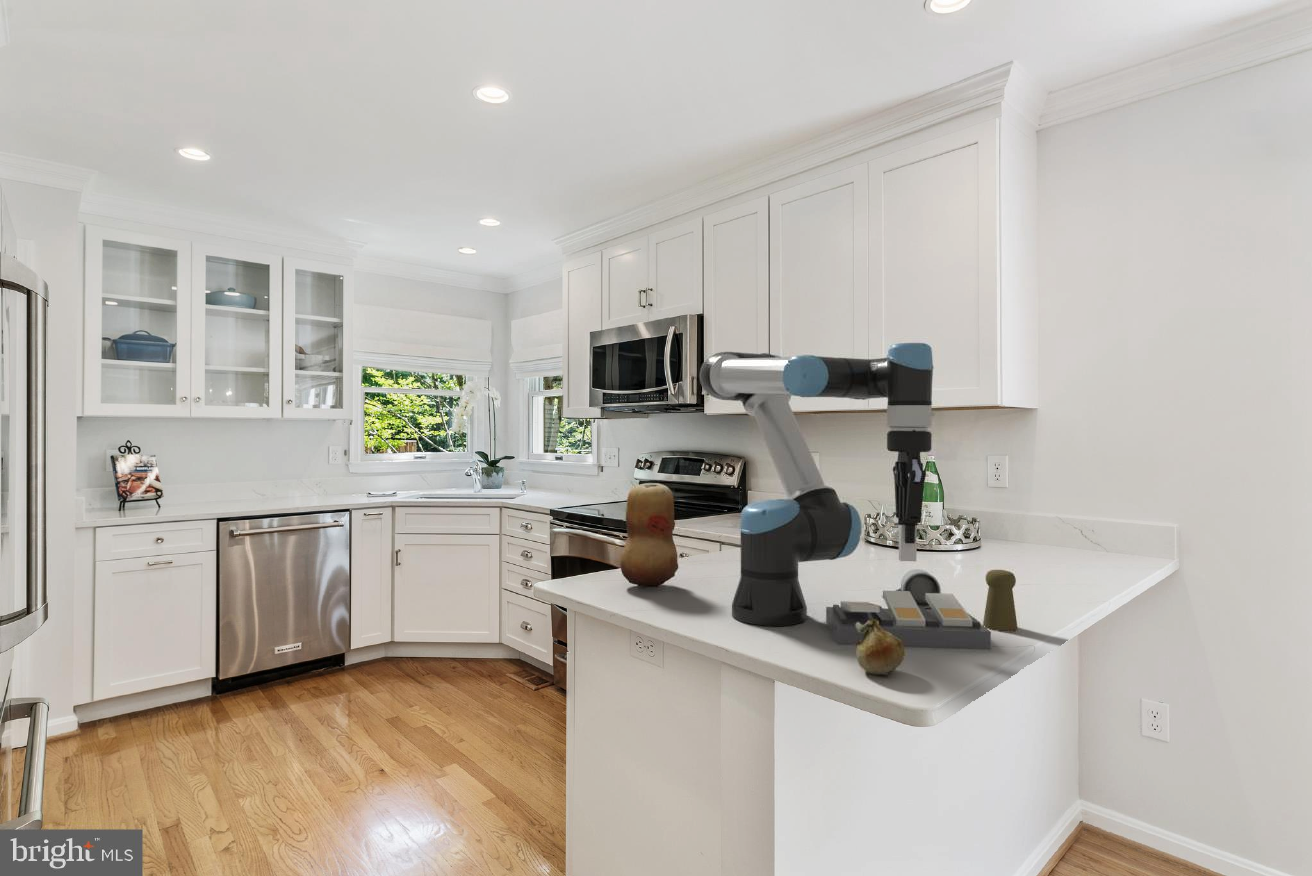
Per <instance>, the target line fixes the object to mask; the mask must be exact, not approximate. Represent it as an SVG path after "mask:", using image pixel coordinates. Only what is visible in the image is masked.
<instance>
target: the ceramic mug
mask: <svg viewBox="0 0 1312 876" xmlns="http://www.w3.org/2000/svg"><path fill="white" fill-rule="evenodd" d="M940 585H941V584H940V583H939V581H938V579H936V577H935V576H934V575H932V574H930V573H929V572H927V571H925V570H924V569H912V570H909V571H907V572H906V573H905V574H904V575H903V576H902V578H901V580H900V588H898V589H896V590H894V591H910V593H911V595H912V597H913V598H914V600H915V602H916V604H917V606H918V607H924V608H926V609H929V608H930V609H931V607H930V605H929V604H928V602H927V601H926V599H925V593H942V592H941V591H942V590H941V586H940Z"/></svg>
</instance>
